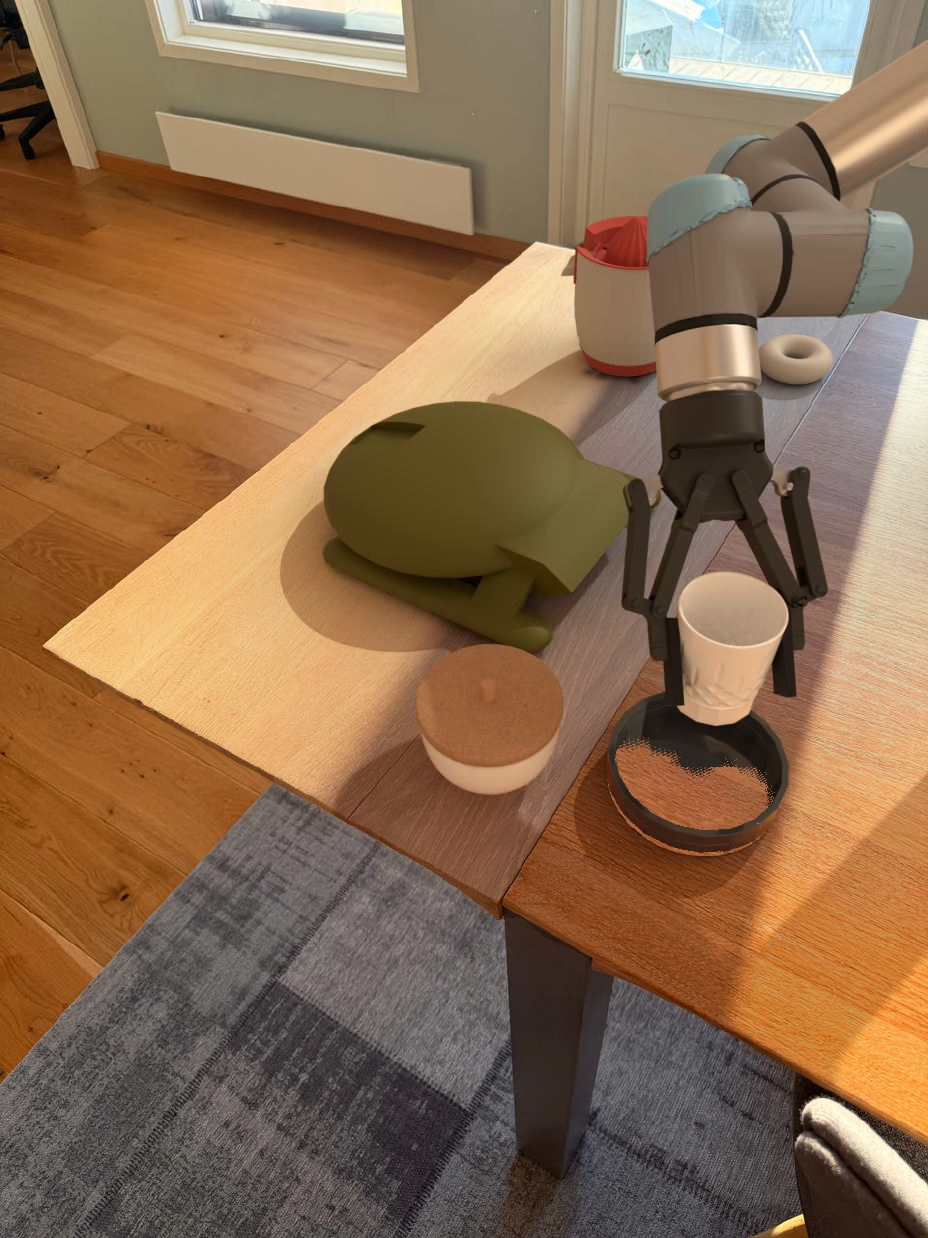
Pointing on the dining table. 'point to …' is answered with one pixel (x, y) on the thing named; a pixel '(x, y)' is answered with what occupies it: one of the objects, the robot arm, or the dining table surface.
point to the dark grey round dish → (699, 749)
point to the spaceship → (472, 514)
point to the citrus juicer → (614, 297)
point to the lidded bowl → (489, 717)
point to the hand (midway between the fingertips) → (730, 699)
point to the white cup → (727, 643)
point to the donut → (795, 359)
